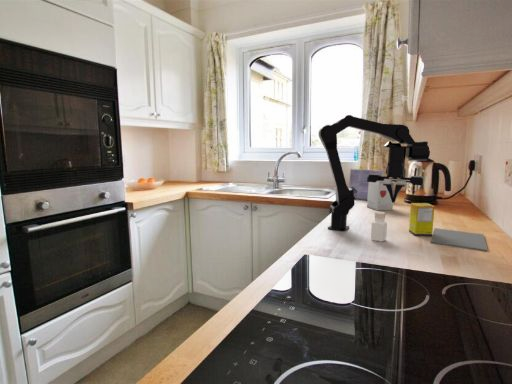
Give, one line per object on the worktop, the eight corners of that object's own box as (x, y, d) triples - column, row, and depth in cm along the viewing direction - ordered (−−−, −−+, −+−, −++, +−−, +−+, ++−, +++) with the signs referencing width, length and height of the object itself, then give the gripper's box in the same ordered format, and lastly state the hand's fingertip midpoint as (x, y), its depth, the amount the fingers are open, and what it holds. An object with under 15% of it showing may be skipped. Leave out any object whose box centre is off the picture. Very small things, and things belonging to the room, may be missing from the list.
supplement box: (425, 232, 115) (427, 202, 114) (432, 236, 109) (435, 206, 108) (408, 231, 116) (410, 202, 114) (414, 236, 110) (417, 205, 108)
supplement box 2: (377, 210, 152) (378, 180, 150) (366, 207, 161) (368, 178, 159) (393, 209, 154) (395, 179, 152) (381, 206, 163) (383, 177, 161)
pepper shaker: (386, 240, 105) (388, 212, 104) (381, 242, 103) (383, 214, 101) (375, 237, 108) (376, 210, 107) (370, 240, 105) (371, 212, 104)
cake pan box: (383, 200, 182) (385, 169, 179) (381, 201, 178) (383, 170, 175) (350, 197, 192) (351, 168, 189) (347, 198, 188) (349, 168, 185)
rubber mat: (487, 251, 94) (487, 249, 94) (430, 243, 102) (430, 241, 102) (483, 235, 111) (483, 234, 111) (434, 229, 119) (434, 228, 119)
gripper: (427, 160, 116) (423, 201, 118) (374, 158, 126) (372, 197, 128) (424, 161, 106) (420, 206, 109) (368, 159, 116) (365, 201, 119)
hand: (393, 202), depth 116 cm, fingers closed
